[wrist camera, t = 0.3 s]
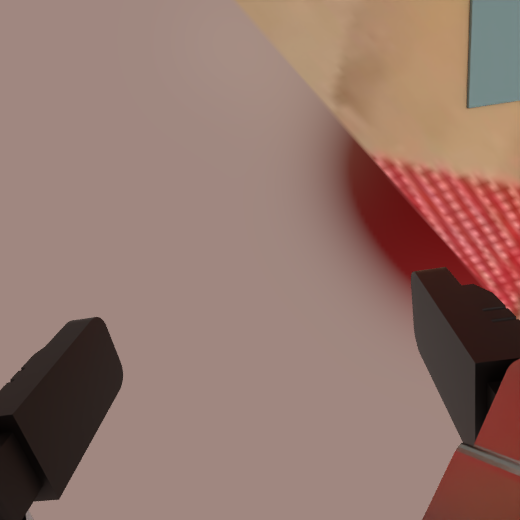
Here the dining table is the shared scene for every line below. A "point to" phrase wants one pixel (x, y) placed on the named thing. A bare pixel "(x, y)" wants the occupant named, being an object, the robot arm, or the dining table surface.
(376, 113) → the dining table surface
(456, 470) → the robot arm
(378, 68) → the dining table surface
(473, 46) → the mat
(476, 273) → the dining table surface
